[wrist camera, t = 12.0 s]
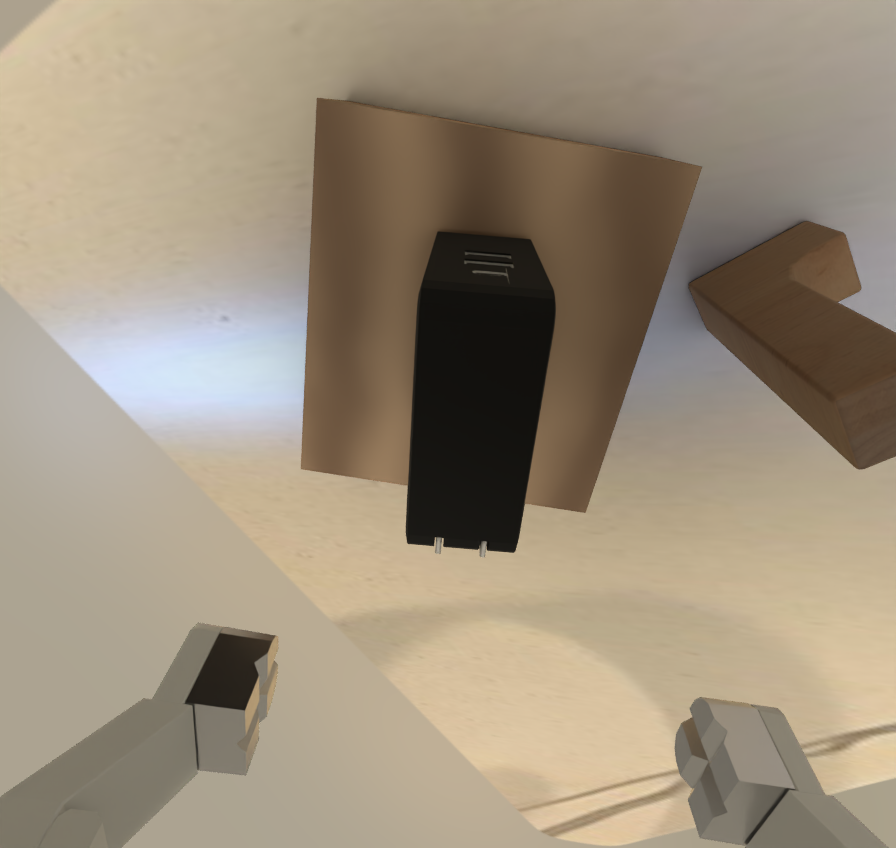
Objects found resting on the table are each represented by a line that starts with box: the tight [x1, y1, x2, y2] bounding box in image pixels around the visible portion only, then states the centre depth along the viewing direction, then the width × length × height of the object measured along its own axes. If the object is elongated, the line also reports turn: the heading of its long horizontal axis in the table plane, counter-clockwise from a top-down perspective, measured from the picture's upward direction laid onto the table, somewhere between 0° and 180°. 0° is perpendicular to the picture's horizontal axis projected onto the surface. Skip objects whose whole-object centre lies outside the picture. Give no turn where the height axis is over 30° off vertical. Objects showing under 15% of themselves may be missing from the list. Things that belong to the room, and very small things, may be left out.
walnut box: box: [301, 98, 702, 513], centre depth 31 cm, size 16×18×6 cm
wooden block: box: [689, 221, 896, 470], centre depth 25 cm, size 7×3×15 cm, turn 122°
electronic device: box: [406, 231, 556, 557], centre depth 23 cm, size 4×10×10 cm, turn 176°
